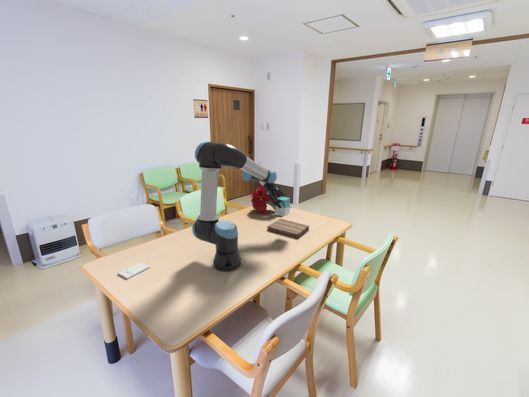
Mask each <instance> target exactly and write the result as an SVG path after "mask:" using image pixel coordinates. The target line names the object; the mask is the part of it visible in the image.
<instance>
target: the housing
mask: <svg viewBox="0 0 529 397" xmlns="http://www.w3.org/2000/svg"><path fill="white" fill-rule="evenodd" d="M277 199H278V201H279V203H281V204H282V206H283V207H284V208H285V210H286V211H285V212H284V213H283V212H282V211H281V210H280V208H279V207H278V206H277V205H276V211H275V210H274V211H275V215H277V216H280V217H286V216H288V215H290V212H291V210H290V209H291V208H290V206H291V197H287V196H286V197H282V196H280V197H278V198H277Z"/></svg>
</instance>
